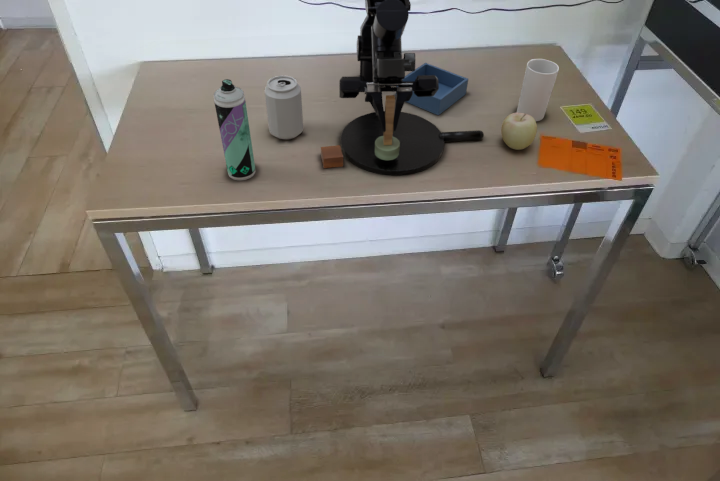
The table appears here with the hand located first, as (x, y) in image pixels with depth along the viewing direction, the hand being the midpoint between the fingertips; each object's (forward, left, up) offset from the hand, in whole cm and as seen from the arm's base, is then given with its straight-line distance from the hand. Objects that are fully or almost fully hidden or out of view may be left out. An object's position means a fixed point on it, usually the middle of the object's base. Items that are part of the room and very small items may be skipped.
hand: (389, 131), depth 108 cm
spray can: (-22, -20, -9) cm, 31 cm away
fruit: (+16, +24, -9) cm, 31 cm away
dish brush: (-1, +1, -6) cm, 7 cm away
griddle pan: (-1, +11, -9) cm, 14 cm away
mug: (+12, +38, -9) cm, 41 cm away
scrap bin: (-9, +29, -9) cm, 32 cm away
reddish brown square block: (-10, -6, -9) cm, 14 cm away
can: (-25, -4, -9) cm, 26 cm away
